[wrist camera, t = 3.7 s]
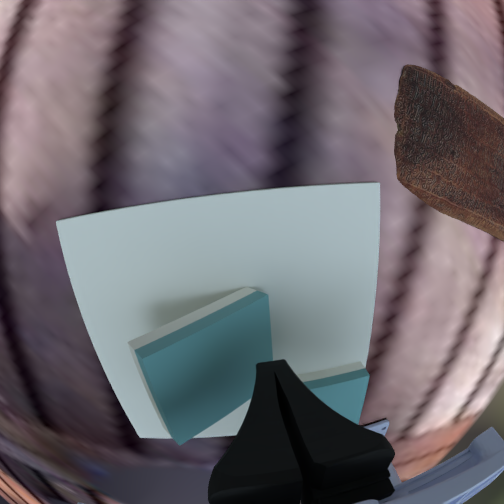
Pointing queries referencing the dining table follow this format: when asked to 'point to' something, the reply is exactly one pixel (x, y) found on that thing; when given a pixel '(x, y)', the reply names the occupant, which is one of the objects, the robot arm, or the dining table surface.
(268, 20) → the dining table surface
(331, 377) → the flat tile
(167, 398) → the tile
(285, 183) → the dining table surface
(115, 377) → the felt mat
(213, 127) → the dining table surface
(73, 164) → the dining table surface
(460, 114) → the wooden tablet
